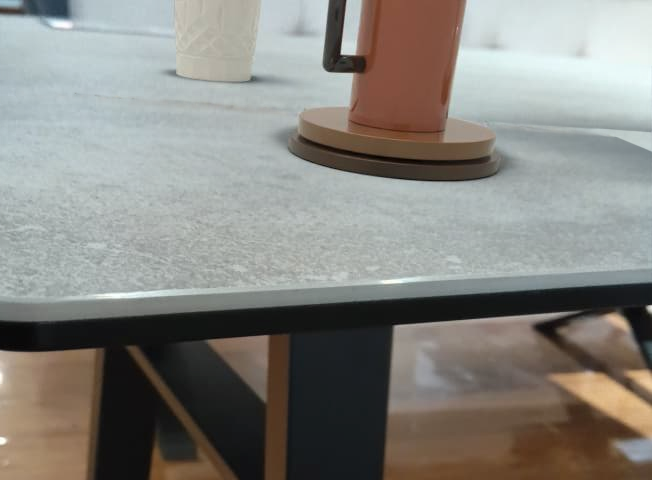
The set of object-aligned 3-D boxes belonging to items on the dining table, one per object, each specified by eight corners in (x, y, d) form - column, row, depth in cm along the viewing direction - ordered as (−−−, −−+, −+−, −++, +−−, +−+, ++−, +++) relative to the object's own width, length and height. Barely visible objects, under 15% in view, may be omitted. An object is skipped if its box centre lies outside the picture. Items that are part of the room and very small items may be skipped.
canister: (422, 122, 62) (454, -91, 56) (534, 159, 52) (587, -95, 46) (266, 121, 57) (284, -113, 51) (358, 161, 47) (393, -122, 42)
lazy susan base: (462, 143, 62) (464, 131, 61) (529, 186, 50) (532, 172, 50) (277, 130, 60) (278, 118, 60) (302, 172, 48) (303, 158, 48)
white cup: (160, 75, 83) (163, -44, 78) (239, 78, 85) (246, -37, 81) (184, 87, 76) (189, -42, 72) (269, 90, 79) (278, -34, 74)
